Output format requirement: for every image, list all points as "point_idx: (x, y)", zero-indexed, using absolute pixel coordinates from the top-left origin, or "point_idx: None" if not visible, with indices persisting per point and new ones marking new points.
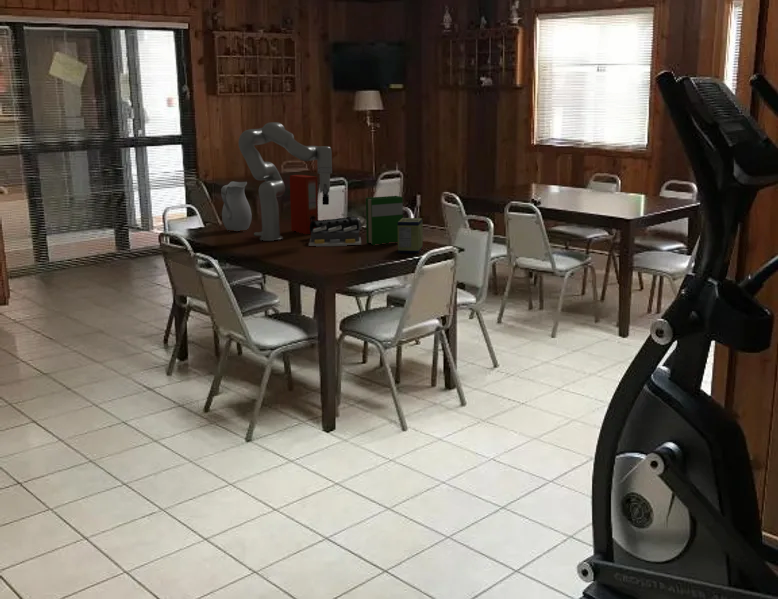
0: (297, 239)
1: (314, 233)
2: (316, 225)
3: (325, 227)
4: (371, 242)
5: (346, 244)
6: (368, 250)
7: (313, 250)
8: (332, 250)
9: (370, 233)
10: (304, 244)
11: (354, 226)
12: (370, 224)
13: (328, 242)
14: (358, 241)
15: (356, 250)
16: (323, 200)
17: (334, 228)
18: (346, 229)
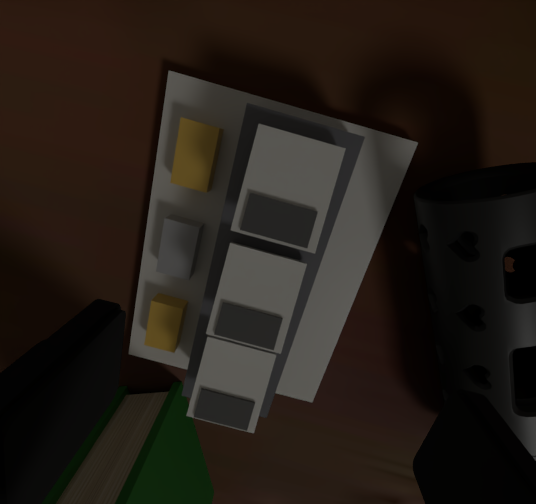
0: (500, 56)
1: (248, 133)
2: (448, 201)
3: (231, 229)
4: (139, 397)
5: (139, 289)
6: (2, 338)
7: (33, 74)
8: (21, 184)
9: (128, 433)
10: (268, 63)
11: (195, 409)
12: (98, 483)
13: (201, 211)
14: (184, 358)
15: (8, 293)
16: (44, 364)
17: (223, 289)
18: (203, 353)
